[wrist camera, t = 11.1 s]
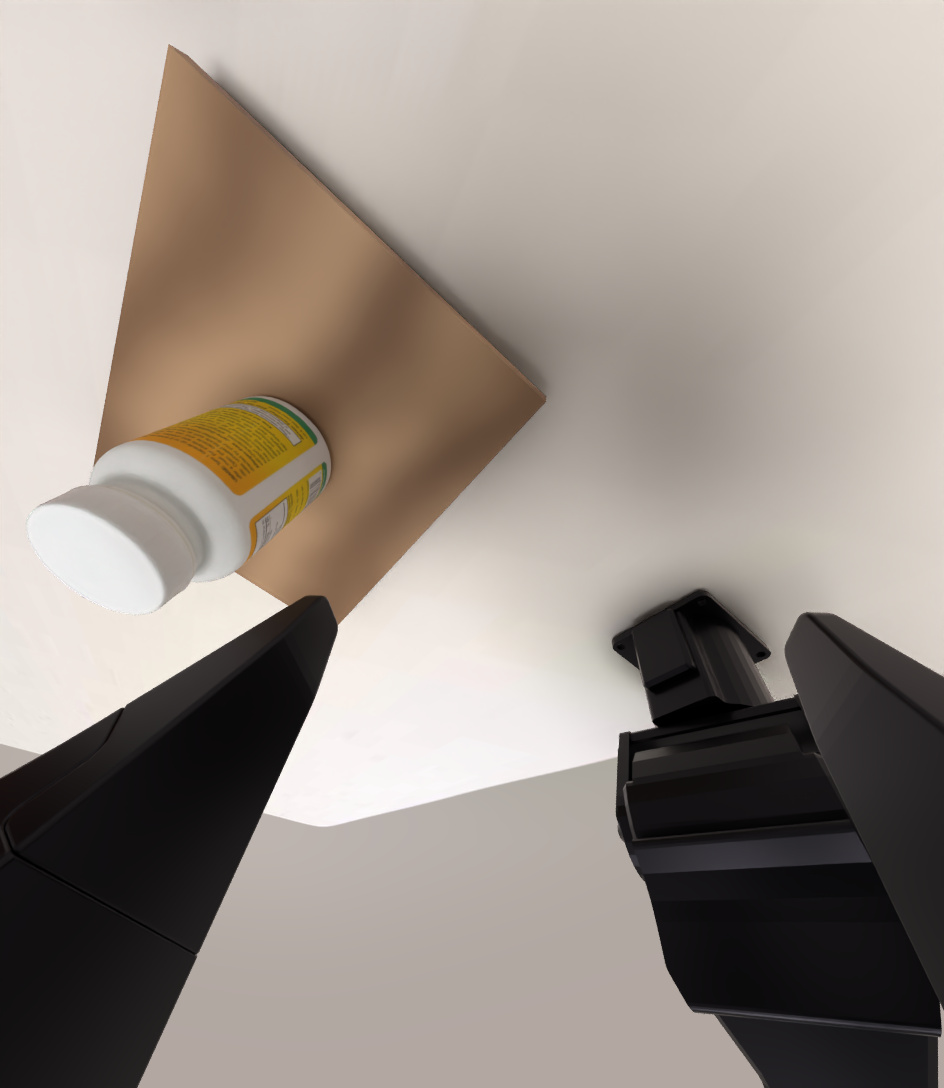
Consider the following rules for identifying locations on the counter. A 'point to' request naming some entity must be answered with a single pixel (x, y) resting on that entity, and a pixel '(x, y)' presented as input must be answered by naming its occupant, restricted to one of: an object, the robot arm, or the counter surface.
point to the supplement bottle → (182, 504)
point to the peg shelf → (300, 342)
